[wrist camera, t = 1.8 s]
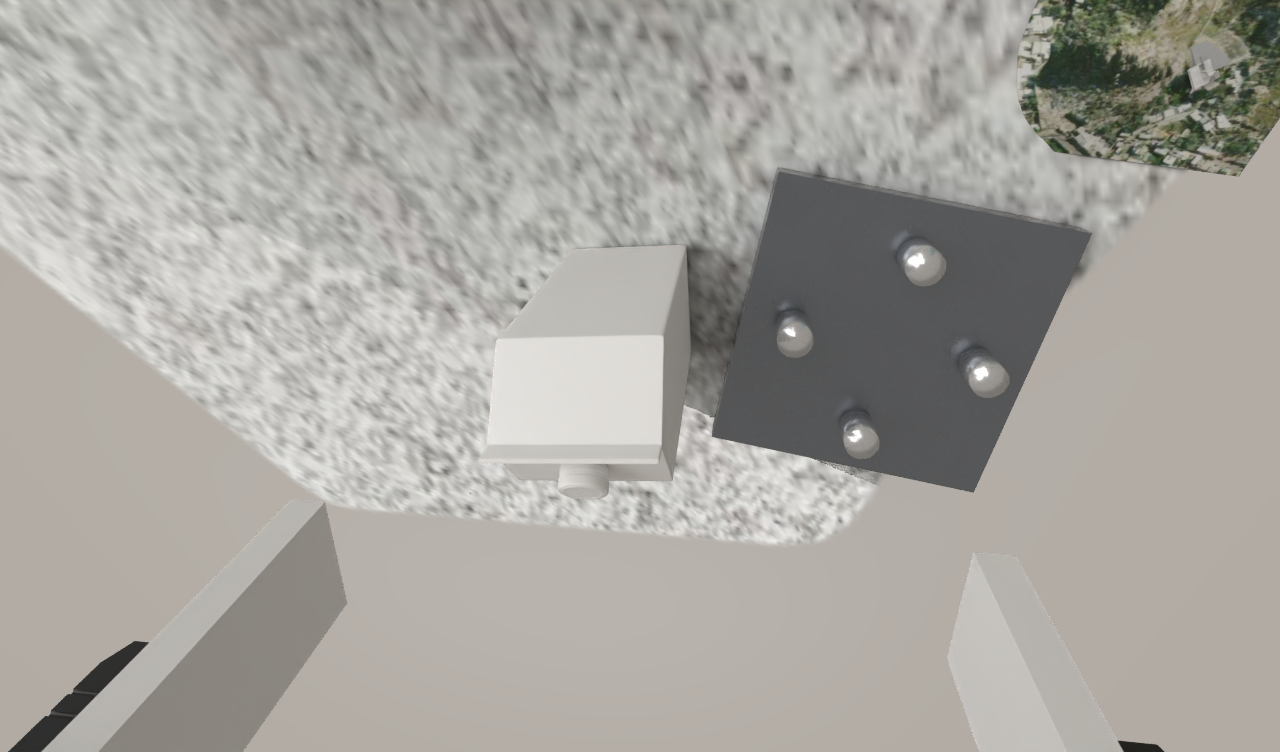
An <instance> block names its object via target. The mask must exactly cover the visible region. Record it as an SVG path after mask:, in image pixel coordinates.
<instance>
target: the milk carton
mask: <svg viewBox="0 0 1280 752" xmlns="http://www.w3.org/2000/svg"><path fill="white" fill-rule="evenodd" d="M690 359H691V337H690V316H689V294H688V272H687V251H686V246H685V245H659V246H634V247H610V248H586V249H573V250H571V251H570V252H569V253H568V254H567V255H566V257H565V258H564V259H563V260H562V261H561V263H560V264H559V265H558V266H557V268H556V269H555V270H554V271H553V272H552V274H551V275H550V276H549V277H548V279H547V280H546V281H545V282H544V283H543V285H542V286H541V287H540V288H539V290H538V291H537V292H536V293H535V294H534V296H533V297H532V298H531V299H530V301H529V302H528V303H527V304H526V305H525V307H524V308H523V309H522V310H521V312H520V313H519V314H518V315H517V316H516V318H515V319H514V320H513V321H512V323H511V324H510V325H509V326H508V327H507V329H506V330H505V331H504V332H503V334H502V335H501V336H500V337H499V338H498V339H497V340H496V348H495V359H494V371H493V383H492V394H491V406H490V418H489V429H488V441H487V447H486V448H485V450H484V451H483V453H482V454H481V456H480V458H479V461H480V463H503V464H504V465H505V466H506V467H507V468H508V469H509V470H510V471H511V472H512V473H513V474H514V475H515V476H516V477H517V478H518V479H519V480H559V481H558V491H559V492H560V493H561V494H563V495H565V496H567V497H571V498H577V499H599V498H603V497H605V496H607V495H608V491H609V481H672V480H673V473H674V467H675V460H676V453H677V447H678V440H679V433H680V426H681V420H682V413H683V406H684V399H685V393H686V386H687V379H688V372H689V366H690Z"/></svg>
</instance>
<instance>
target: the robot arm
mask: <svg viewBox="0 0 1280 752" xmlns="http://www.w3.org/2000/svg"><path fill="white" fill-rule="evenodd" d="M346 604H347V600H346V595H345V591H344V586H343V582H342V577H341V573H340V569H339V564H338V559H337V555H336V550H335V546H334V541H333V537H332V532H331V527H330V523H329V518H328V514H327V509H326V505H325V502H316V501H304V500H290V501H289V502H288V503H287V504H286V505H285V506H284V507H283V508H282V509H281V510H280V511H279V512H278V513H277V514H276V515H275V516H274V517H273V518H272V519H271V520H270V521H269V522H268V523H267V524H266V525H265V526H264V527H263V528H262V529H261V530H260V531H259V532H258V533H257V534H256V535H255V537H253V538H252V539H251V540H250V541H249V542H248V543H247V544H246V546H244V548H242V549H241V550H240V552H239V553H238V554H237V555H236V556H235V557H234V558H233V559H232V560H231V561H230V562H229V563H228V564H227V565H226V566H225V567H224V568H223V569H222V570H221V571H220V572H219V573H218V574H217V575H216V576H215V577H214V578H213V579H212V580H211V581H210V582H209V583H208V584H207V585H206V586H205V587H204V588H203V589H202V590H201V591H200V592H199V593H198V594H197V595H196V596H195V597H194V598H193V599H192V600H191V601H190V602H189V603H188V604H187V605H186V606H185V607H184V608H183V609H182V610H181V611H180V612H179V613H178V614H177V615H176V616H175V617H174V618H173V619H172V620H171V621H170V622H169V623H168V624H167V626H165V627H164V628H163V629H162V630H161V632H159V633H158V635H156V636H155V637H154V638H153V639H152V640H151V642H149V643H148V642H138V641H134V642H133V643H131V644H129V645H128V646H126V647H125V648H123V649H121V650H120V651H118V652H117V653H115V654H114V655H112V656H110V657H109V658H107V659H106V660H104V661H102V662H101V663H100V664H99V665H98V666H97V667H96V668H95V669H94V670H93V671H91V672H90V674H88V675H87V676H86V677H85V678H84V679H83V680H82V681H81V682H80V683H79V684H78V685H77V686H76V687H75V688H74V689H73V693H72V694H68V695H67V696H65V697H64V698H63V700H61V701H60V702H59V703H58V704H57V705H56V706H55V707H54V708H53V709H52V710H51V714H50V715H49V716H45V717H44V718H43V719H42V720H41V721H40V722H39V723H38V724H36V726H34V727H33V728H32V729H31V730H30V731H29V732H28V733H27V734H26V735H25V736H24V737H23V738H22V739H21V740H20V741H19V742H18V743H17V744H16V745H15V746H14V747H13V748H12V749H11V750H10V751H8V752H243V751H244V749H245V748H246V746H247V745H248V743H249V742H250V741H251V739H252V738H253V736H254V735H255V734H256V732H257V731H258V729H259V728H260V726H261V725H262V723H263V722H264V721H265V719H266V718H267V716H268V715H269V713H270V712H271V711H272V709H273V708H274V707H275V705H276V704H277V702H278V701H279V699H280V698H281V697H282V695H283V693H284V692H285V691H286V689H287V688H288V687H289V685H290V684H291V682H292V681H293V679H294V678H295V677H296V675H297V674H298V672H299V671H300V669H301V668H302V667H303V665H304V664H305V662H306V661H307V660H308V658H309V657H310V655H311V654H312V652H313V651H314V650H315V648H316V647H317V645H318V644H319V642H320V641H321V640H322V638H323V637H324V635H325V634H326V633H327V631H328V629H329V628H330V627H331V625H332V624H333V623H334V621H335V620H336V618H337V617H338V615H339V614H340V613H341V611H342V610H343V608H344V607H345V606H346ZM947 661H948V664H949V666H950V669H951V672H952V675H953V678H954V681H955V684H956V687H957V690H958V693H959V695H960V698H961V701H962V704H963V707H964V710H965V713H966V716H967V719H968V721H969V725H970V727H971V730H972V733H973V736H974V739H975V742H976V745H977V748H978V751H979V752H1164V751H1163V750H1162V749H1161V748H1160V747H1159V746H1158V745H1155V744H1145V743H1135V742H1126V741H1117V739H1116V737H1115V735H1114V734H1113V732H1112V730H1111V728H1110V726H1109V724H1108V723H1107V721H1106V719H1105V717H1104V716H1103V714H1102V712H1101V710H1100V708H1099V706H1098V704H1097V703H1096V701H1095V699H1094V697H1093V695H1092V694H1091V692H1090V690H1089V688H1088V686H1087V685H1086V683H1085V681H1084V679H1083V677H1082V676H1081V674H1080V672H1079V670H1078V668H1077V666H1076V664H1075V663H1074V661H1073V659H1072V657H1071V655H1070V654H1069V652H1068V650H1067V648H1066V646H1065V645H1064V643H1063V641H1062V639H1061V637H1060V636H1059V634H1058V632H1057V630H1056V628H1055V626H1054V624H1053V623H1052V621H1051V619H1050V617H1049V615H1048V614H1047V612H1046V610H1045V608H1044V606H1043V604H1042V603H1041V601H1040V599H1039V597H1038V595H1037V594H1036V592H1035V590H1034V588H1033V586H1032V584H1031V583H1030V581H1029V579H1028V577H1027V575H1026V574H1025V572H1024V570H1023V568H1022V566H1021V564H1020V563H1019V561H1018V559H1017V557H1016V556H1015V555H1004V554H992V553H979V552H973V556H972V559H971V564H970V567H969V572H968V576H967V580H966V584H965V588H964V592H963V596H962V600H961V604H960V608H959V612H958V616H957V620H956V624H955V628H954V633H953V637H952V641H951V645H950V649H949V653H948V657H947Z"/></svg>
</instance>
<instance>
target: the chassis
mask: <svg viewBox="0 0 1280 752" xmlns="http://www.w3.org/2000/svg"><path fill="white" fill-rule="evenodd" d="M1091 235H1092V233H1090V232H1088V231H1086V230H1084V229H1082V228H1080V227H1076V226H1071V225H1066V224H1061V223H1056V222H1051V221H1046V220H1041V219H1036V218H1031V217H1026V216H1021V215H1016V214H1011V213H1006V212H1001V211H996V210H991V209H985V208H980V207H975V206H970V205H965V204H960V203H955V202H950V201H945V200H940V199H935V198H930V197H925V196H920V195H915V194H910V193H905V192H900V191H895V190H889V189H884V188H879V187H874V186H869V185H864V184H859V183H854V182H849V181H844V180H839V179H834V178H829V177H824V176H819V175H814V174H809V173H804V172H799V171H793V170H788V169H783V168H778V167H777V171H776V175H775V179H774V183H773V187H772V191H771V195H770V199H769V203H768V207H767V211H766V215H765V219H764V223H763V227H762V231H761V235H760V239H759V243H758V247H757V251H756V255H755V259H754V263H753V267H752V271H751V275H750V279H749V283H748V287H747V291H746V295H745V299H744V303H743V307H742V311H741V315H740V319H739V323H738V327H737V331H736V335H735V339H734V343H733V347H732V351H731V355H730V359H729V363H728V367H727V371H726V375H725V379H724V383H723V387H722V391H721V395H720V399H719V403H718V407H717V411H716V415H715V419H714V423H713V430H712V437H716V438H720V439H725V440H730V441H734V442H739V443H744V444H749V445H753V446H758V447H763V448H767V449H772V450H777V451H781V452H786V453H791V454H796V455H800V456H805V457H810V458H814V459H819V460H824V461H828V462H833V463H838V464H842V465H847V466H852V467H857V468H861V469H866V470H871V471H875V472H880V473H885V474H889V475H894V476H899V477H904V478H908V479H913V480H918V481H922V482H927V483H932V484H936V485H941V486H946V487H950V488H955V489H960V490H964V491H969V492H974V490H975V488H976V486H977V484H978V481H979V479H980V477H981V475H982V472H983V470H984V468H985V466H986V464H987V462H988V459H989V457H990V455H991V453H992V451H993V448H994V447H995V444H996V442H997V440H998V438H999V436H1000V433H1001V431H1002V429H1003V427H1004V425H1005V422H1006V420H1007V418H1008V416H1009V414H1010V412H1011V409H1012V407H1013V405H1014V403H1015V400H1016V398H1017V396H1018V394H1019V392H1020V389H1021V387H1022V385H1023V383H1024V381H1025V379H1026V377H1027V374H1028V372H1029V370H1030V368H1031V366H1032V363H1033V361H1034V359H1035V357H1036V355H1037V353H1038V350H1039V348H1040V346H1041V343H1042V342H1043V339H1044V337H1045V335H1046V333H1047V331H1048V329H1049V326H1050V324H1051V322H1052V320H1053V318H1054V315H1055V313H1056V311H1057V309H1058V307H1059V305H1060V302H1061V300H1062V298H1063V296H1064V294H1065V291H1066V289H1067V287H1068V285H1069V283H1070V281H1071V278H1072V276H1073V274H1074V272H1075V270H1076V267H1077V265H1078V263H1079V261H1080V259H1081V256H1082V254H1083V252H1084V250H1085V248H1086V246H1087V243H1088V241H1089V239H1090V237H1091Z"/></svg>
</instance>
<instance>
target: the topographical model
mask: <svg viewBox="0 0 1280 752" xmlns="http://www.w3.org/2000/svg"><path fill="white" fill-rule="evenodd" d="M1017 92H1018V100H1019V104H1020V105H1021V109H1022V111H1023V114H1024V116H1025V118H1026V120H1027V122H1028V123H1029V124H1030V125H1031V127H1032V128H1033V129H1034V131H1035V132H1036V133H1037V134H1038V135H1039V136H1040V137H1041V138H1043V140H1044V141H1045V142H1046V143H1047V144H1048V145H1049V146H1050V147H1051V149H1052V150H1053V151H1055V152H1062V153H1069V154H1077V155H1084V156H1091V157H1099V158H1107V159H1114V160H1122V161H1129V162H1137V163H1144V164H1152V165H1159V166H1166V167H1173V168H1180V169H1187V170H1195V171H1202V172H1209V173H1217V174H1224V175H1231V176H1240V174H1241V172H1242V171H1243V169H1244V168H1245V166H1246V165H1247V164H1248V162H1249V161H1250V159H1251V158H1252V157H1253V155H1254V154H1255V152H1256V151H1257V150H1258V148H1259V147H1260V145H1261V143H1262V142H1263V141H1264V139H1265V138H1266V137H1267V135H1268V134H1269V133H1270V131H1271V130H1272V128H1273V127H1274V125H1275V124H1276V123H1277V121H1278V120H1279V118H1280V0H1038V1H1037V4H1036V6H1035V8H1034V11H1033V13H1032V15H1031V17H1030V20H1029V22H1028V25H1027V27H1026V30H1025V32H1024V35H1023V38H1022V41H1021V43H1020V47H1019V53H1018V64H1017Z"/></svg>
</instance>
